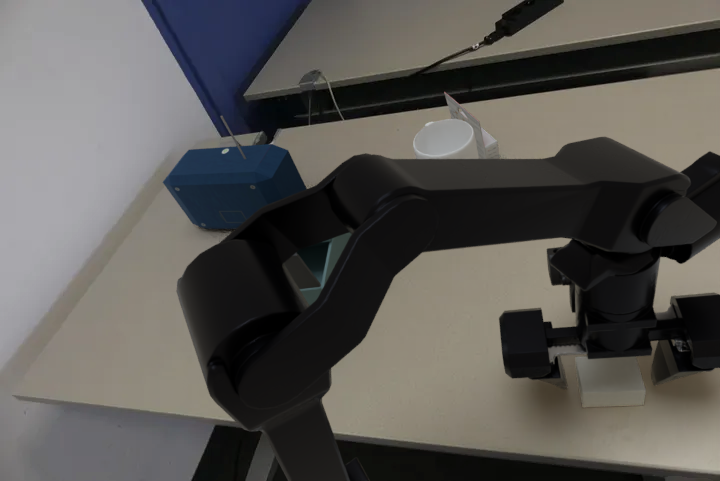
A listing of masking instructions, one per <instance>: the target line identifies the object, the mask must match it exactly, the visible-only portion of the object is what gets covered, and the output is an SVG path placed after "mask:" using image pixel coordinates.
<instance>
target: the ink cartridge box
mask: <svg viewBox="0 0 720 481" xmlns="http://www.w3.org/2000/svg"><path fill="white" fill-rule="evenodd" d="M443 93H444V97H445V100H446V103H447V107H448V110H449V113H450V119H458V120H462V121H465V122H467V123H468V124H470V125H471V127H472V128H473V130H474V133H475V138H476V144H477V150H478V156H479V159H500V150H499V142H498V140H496V139H495V138H494V137H493V136H492V134H490V133H489V132H487V131H486V130H485V129H484V128H483V127H482V126H481V122H480V120H479V119H477V117H475V115H473V114H472V113H470V112H469V111H468V110H467V109H466V108H465V107H464V106H462V105H461V104H460V103H459V102H457V101H456V99H455V98H453V97H452V96H451V95H449V94H448V93H447V92H446V91H444V92H443ZM460 110H461V111H460Z"/></svg>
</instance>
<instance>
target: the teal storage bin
mask: <svg viewBox="0 0 720 481" xmlns="http://www.w3.org/2000/svg"><path fill="white" fill-rule="evenodd" d="M350 236H351V233H350V232H349V233H346V234H343V235H340V236H337V237H335V238H332V239H329V240H326V241H323V242H320V243H317V244H315V245H312V246H309V247H306V248H303V249H300V250H299V251H297V252H296V253H297V254H298V255H299V256H300V257H301V259H302V260H303V261H304V263H305V264H306V265H307V267H308V268H309V269H310V271H311V272H312V273H313V275H314V276H315V277H316V278H317V280H318V281H319V282H320V284H321V287H316V288H307V289H300V291H301V292H302V294H303V296H304V297H305V299H306V301H307V302H308V304H309V305H311V304H312V303H313V302H315V301H316V300H317V298H318V297H319V295H320V293H321V291H322V289H323V287H324V285H325V283H326V281H327V280H328V278H329V276H330V274H331V272H332V270H333V268H334V266H335V264H336V263H337V261H338V259H339V257H340V255H341V253H342V251H343V249H344V248H345V246H346V244H347V242H348V240H349V238H350Z"/></svg>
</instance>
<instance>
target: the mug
mask: <svg viewBox="0 0 720 481" xmlns="http://www.w3.org/2000/svg"><path fill="white" fill-rule="evenodd" d="M412 148H413V153H414V156H415V159H479V156H478V150H477V144H476V138H475V133H474V130H473V128H472V127H471V125H470V124H468V123H467V122H465V121H462V120H458V119H451V118H447V119H446V118H445V119H440V120H437V121H432V120H431V121H429V122H426V123H425V124H424V126H423V127H422V128H420V130H419V131H418V132H417V133H416V134H415V136H414V138H413V142H412Z"/></svg>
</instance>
